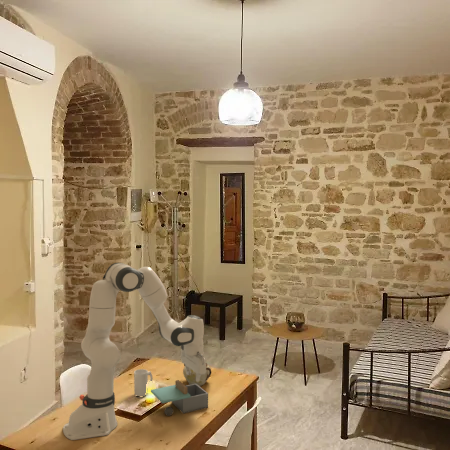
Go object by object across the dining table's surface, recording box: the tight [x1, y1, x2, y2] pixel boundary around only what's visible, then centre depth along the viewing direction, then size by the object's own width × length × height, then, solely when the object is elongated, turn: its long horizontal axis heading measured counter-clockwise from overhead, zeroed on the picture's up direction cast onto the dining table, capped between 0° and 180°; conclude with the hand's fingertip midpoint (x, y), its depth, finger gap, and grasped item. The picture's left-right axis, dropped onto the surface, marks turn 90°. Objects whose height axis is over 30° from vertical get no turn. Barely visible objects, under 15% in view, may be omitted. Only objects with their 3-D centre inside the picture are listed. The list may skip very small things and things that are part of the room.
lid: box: [150, 379, 191, 404], centre depth 225 cm, size 14×14×4 cm
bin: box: [171, 384, 209, 415], centre depth 231 cm, size 13×13×7 cm
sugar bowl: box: [182, 362, 212, 387], centre depth 257 cm, size 20×15×15 cm
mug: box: [133, 368, 154, 397], centre depth 242 cm, size 10×7×12 cm, turn 130°
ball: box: [164, 406, 174, 417], centre depth 220 cm, size 4×4×4 cm
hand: (192, 377), depth 231 cm, fingers open, 8 cm apart
